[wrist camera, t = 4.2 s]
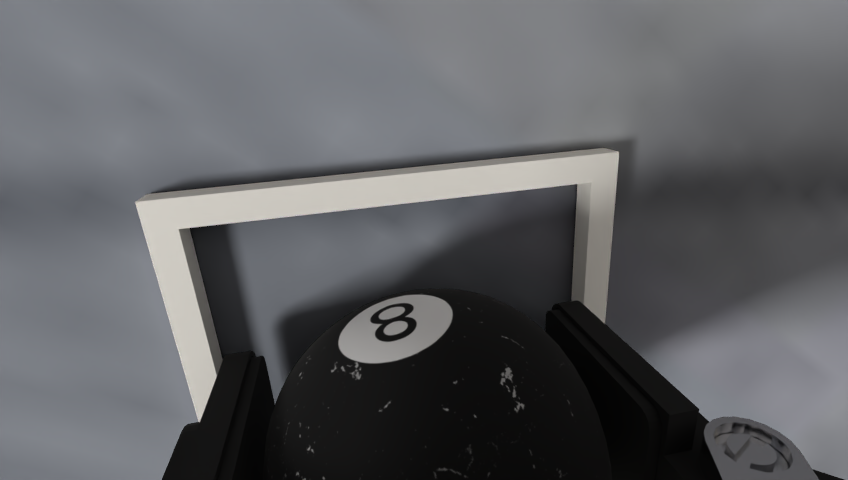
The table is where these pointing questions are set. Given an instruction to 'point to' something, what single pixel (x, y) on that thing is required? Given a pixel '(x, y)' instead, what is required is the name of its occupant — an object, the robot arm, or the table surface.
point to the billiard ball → (435, 398)
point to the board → (186, 209)
